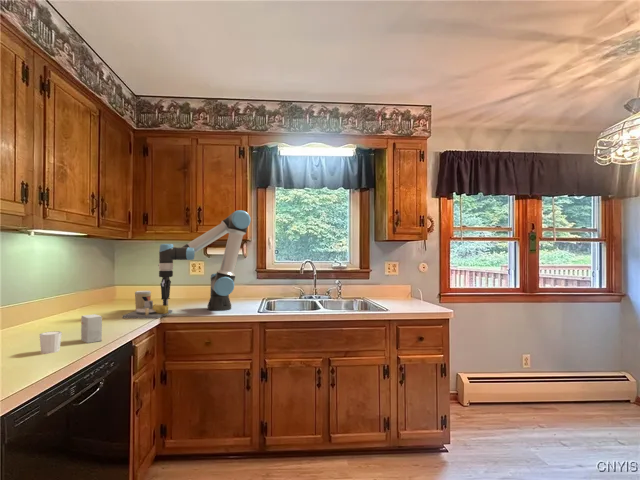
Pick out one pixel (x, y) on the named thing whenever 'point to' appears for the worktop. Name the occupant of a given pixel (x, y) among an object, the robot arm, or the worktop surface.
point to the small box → (91, 328)
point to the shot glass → (50, 342)
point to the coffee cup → (142, 298)
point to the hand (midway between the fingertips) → (165, 310)
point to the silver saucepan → (153, 308)
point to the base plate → (154, 315)
